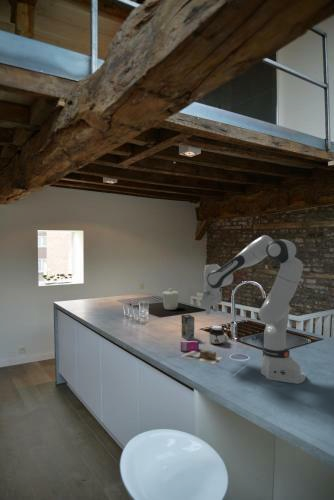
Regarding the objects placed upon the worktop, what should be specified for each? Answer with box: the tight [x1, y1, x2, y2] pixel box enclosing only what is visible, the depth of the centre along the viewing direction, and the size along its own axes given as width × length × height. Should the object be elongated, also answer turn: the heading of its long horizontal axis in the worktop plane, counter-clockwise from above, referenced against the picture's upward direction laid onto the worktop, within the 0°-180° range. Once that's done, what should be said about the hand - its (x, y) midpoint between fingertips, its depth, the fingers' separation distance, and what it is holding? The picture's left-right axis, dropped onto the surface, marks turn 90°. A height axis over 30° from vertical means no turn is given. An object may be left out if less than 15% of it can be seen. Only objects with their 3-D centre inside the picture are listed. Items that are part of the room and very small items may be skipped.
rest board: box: [181, 351, 223, 365], centre depth 206 cm, size 22×12×1 cm, turn 55°
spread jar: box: [208, 325, 230, 346], centre depth 235 cm, size 12×11×12 cm
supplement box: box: [180, 340, 200, 352], centre depth 219 cm, size 6×6×12 cm
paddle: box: [185, 349, 217, 360], centre depth 206 cm, size 17×8×4 cm, turn 58°
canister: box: [161, 287, 180, 311], centre depth 349 cm, size 18×18×21 cm
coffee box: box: [181, 314, 195, 341], centre depth 247 cm, size 9×6×16 cm
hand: (211, 312), depth 208 cm, fingers open, 8 cm apart
